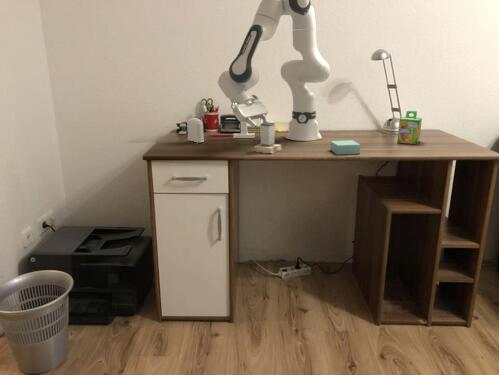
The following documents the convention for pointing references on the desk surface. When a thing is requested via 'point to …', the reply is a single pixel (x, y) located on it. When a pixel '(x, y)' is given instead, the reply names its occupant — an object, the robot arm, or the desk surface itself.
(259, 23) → the robot arm
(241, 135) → the joystick
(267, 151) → the stand
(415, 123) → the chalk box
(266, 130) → the block
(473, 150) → the desk surface
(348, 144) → the stand
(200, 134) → the grey arched block
